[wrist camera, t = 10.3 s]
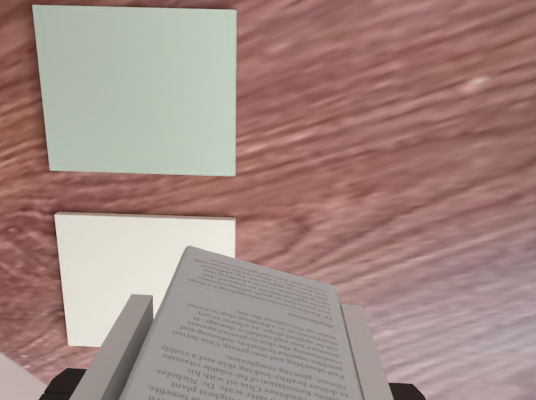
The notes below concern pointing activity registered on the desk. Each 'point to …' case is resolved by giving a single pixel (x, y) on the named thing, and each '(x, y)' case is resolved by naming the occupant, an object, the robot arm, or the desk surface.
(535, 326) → the desk surface
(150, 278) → the taller pad
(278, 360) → the skincare box
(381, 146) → the desk surface
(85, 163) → the shorter pad
